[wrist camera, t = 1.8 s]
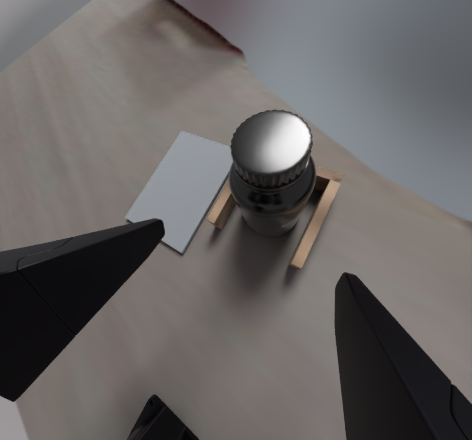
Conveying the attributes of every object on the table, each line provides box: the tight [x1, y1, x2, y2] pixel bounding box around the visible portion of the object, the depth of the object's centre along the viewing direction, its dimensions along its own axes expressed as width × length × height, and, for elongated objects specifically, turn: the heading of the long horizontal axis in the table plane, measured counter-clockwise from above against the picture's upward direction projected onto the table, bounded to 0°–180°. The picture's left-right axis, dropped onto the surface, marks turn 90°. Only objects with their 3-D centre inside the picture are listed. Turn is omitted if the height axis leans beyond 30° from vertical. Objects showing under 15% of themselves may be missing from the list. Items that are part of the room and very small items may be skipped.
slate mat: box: [125, 131, 233, 253], centre depth 25 cm, size 16×11×1 cm
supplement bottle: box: [229, 110, 316, 236], centre depth 16 cm, size 7×7×12 cm
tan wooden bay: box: [207, 166, 344, 269], centre depth 20 cm, size 10×11×3 cm
